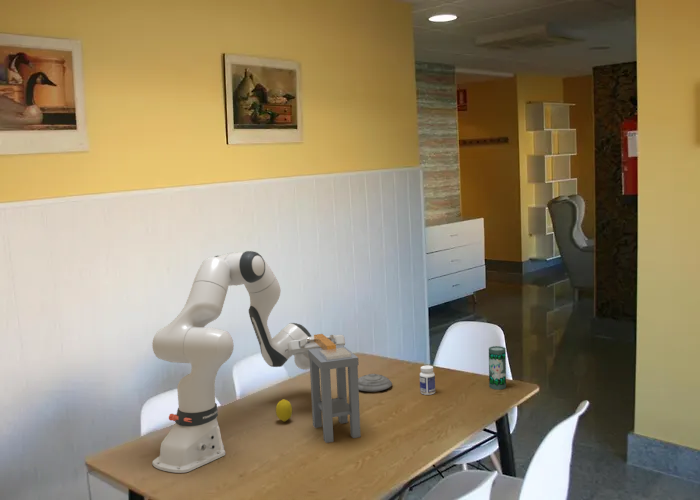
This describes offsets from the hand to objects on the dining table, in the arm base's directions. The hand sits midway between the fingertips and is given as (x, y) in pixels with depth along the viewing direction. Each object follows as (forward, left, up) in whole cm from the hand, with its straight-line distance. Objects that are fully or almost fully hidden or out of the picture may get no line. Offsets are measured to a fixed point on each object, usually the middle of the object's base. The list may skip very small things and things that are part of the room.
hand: (320, 338), depth 227 cm
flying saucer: (+33, -2, -28) cm, 44 cm away
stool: (-10, -10, -28) cm, 31 cm away
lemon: (-10, +10, -28) cm, 31 cm away
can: (+51, -46, -28) cm, 74 cm away
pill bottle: (+35, -24, -28) cm, 51 cm away
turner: (-6, -7, -2) cm, 9 cm away
